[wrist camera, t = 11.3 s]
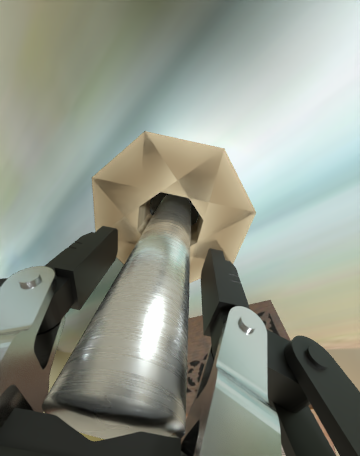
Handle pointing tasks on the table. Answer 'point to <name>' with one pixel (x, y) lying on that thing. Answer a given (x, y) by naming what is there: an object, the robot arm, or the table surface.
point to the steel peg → (135, 340)
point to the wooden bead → (176, 185)
